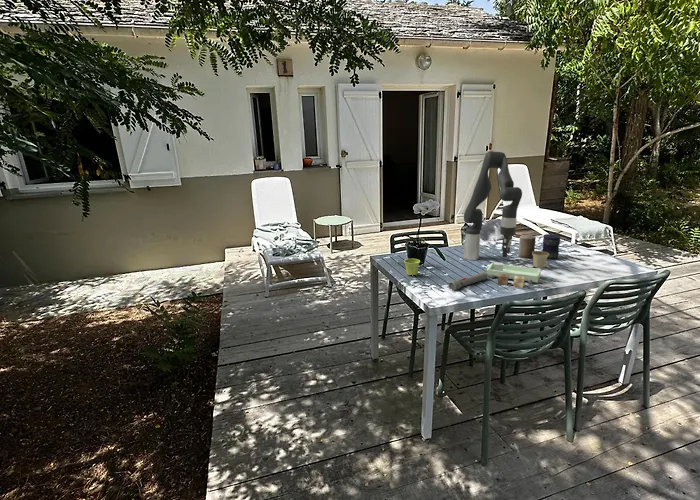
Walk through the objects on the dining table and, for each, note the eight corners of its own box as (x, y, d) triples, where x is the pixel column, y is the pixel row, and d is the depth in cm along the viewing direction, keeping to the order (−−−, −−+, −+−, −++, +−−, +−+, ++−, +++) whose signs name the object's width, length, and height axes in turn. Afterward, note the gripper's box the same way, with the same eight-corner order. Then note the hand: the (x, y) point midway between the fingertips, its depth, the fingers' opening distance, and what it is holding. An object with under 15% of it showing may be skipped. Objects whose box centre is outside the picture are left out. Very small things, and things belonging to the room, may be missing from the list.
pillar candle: (536, 258, 252) (538, 236, 249) (521, 258, 253) (523, 236, 249) (530, 254, 262) (532, 233, 258) (515, 254, 262) (517, 233, 258)
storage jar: (544, 254, 259) (546, 233, 255) (560, 257, 253) (562, 235, 249) (538, 258, 253) (541, 236, 249) (554, 261, 246) (557, 238, 242)
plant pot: (410, 278, 223) (410, 264, 221) (400, 273, 232) (400, 260, 229) (423, 275, 228) (423, 261, 225) (413, 271, 236) (413, 257, 233)
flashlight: (489, 280, 217) (489, 272, 216) (455, 292, 203) (455, 283, 201) (482, 278, 221) (482, 269, 220) (447, 289, 207) (448, 280, 205)
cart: (485, 277, 221) (485, 270, 220) (491, 269, 234) (492, 262, 233) (537, 285, 207) (537, 277, 206) (540, 275, 221) (541, 268, 220)
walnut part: (497, 284, 210) (498, 276, 209) (499, 282, 214) (499, 273, 213) (506, 285, 208) (507, 277, 207) (507, 283, 212) (508, 274, 210)
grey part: (494, 272, 223) (494, 264, 222) (494, 270, 227) (495, 262, 226) (502, 273, 222) (503, 265, 220) (502, 270, 226) (503, 262, 224)
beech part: (513, 287, 206) (514, 278, 205) (514, 284, 210) (515, 275, 209) (522, 288, 204) (523, 279, 203) (523, 285, 208) (524, 276, 206)
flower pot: (549, 269, 231) (551, 255, 229) (532, 268, 233) (534, 255, 231) (545, 264, 240) (546, 251, 238) (529, 264, 242) (530, 250, 240)
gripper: (503, 222, 210) (501, 251, 214) (498, 227, 198) (496, 257, 202) (518, 223, 206) (515, 252, 210) (513, 228, 194) (511, 259, 199)
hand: (506, 255), depth 206 cm, fingers open, 8 cm apart
